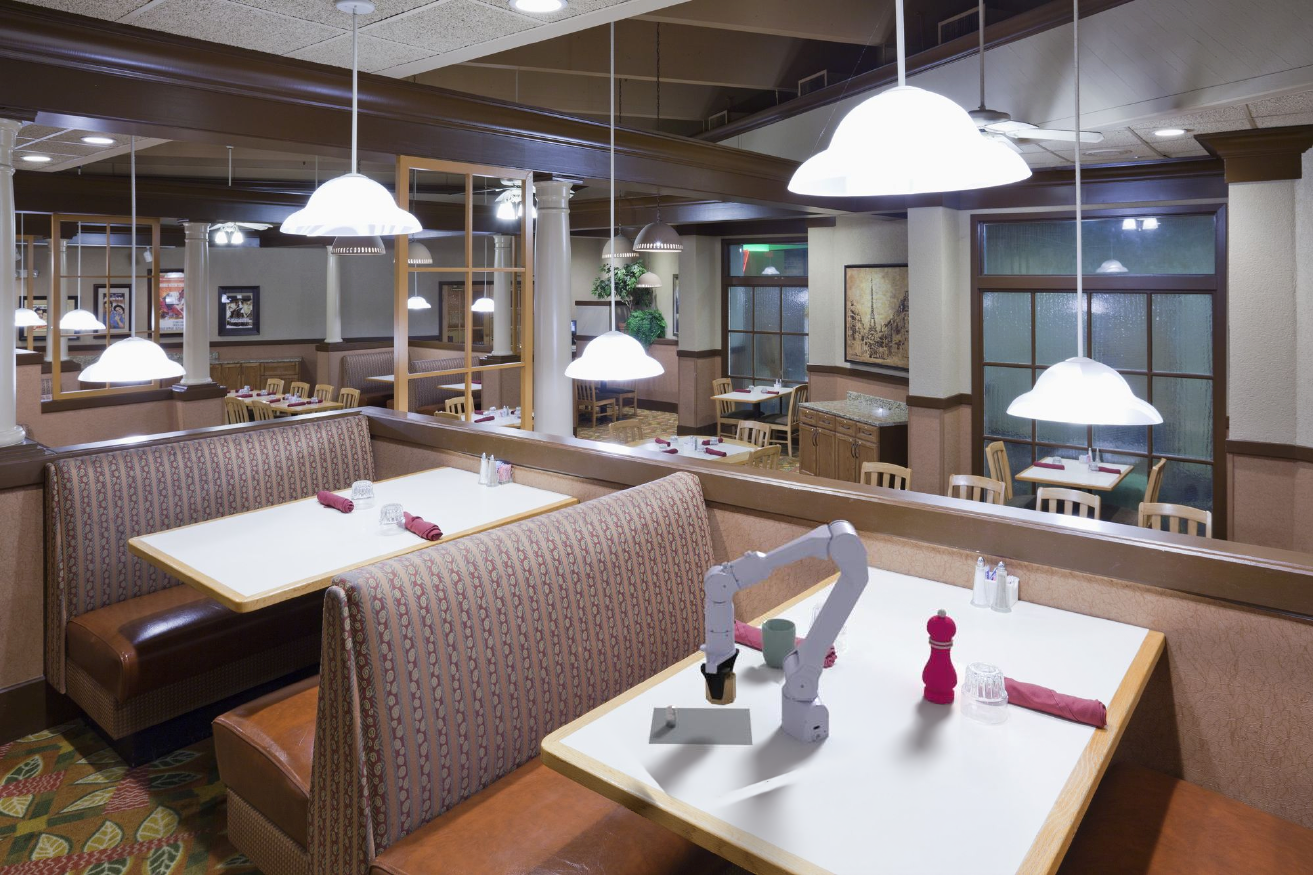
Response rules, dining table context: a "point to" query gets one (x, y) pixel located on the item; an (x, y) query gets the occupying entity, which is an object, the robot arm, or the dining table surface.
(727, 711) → the slate block
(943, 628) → the pepper mill
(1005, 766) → the dining table surface
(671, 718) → the steel pin
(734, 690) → the bronze ring
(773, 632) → the cup
